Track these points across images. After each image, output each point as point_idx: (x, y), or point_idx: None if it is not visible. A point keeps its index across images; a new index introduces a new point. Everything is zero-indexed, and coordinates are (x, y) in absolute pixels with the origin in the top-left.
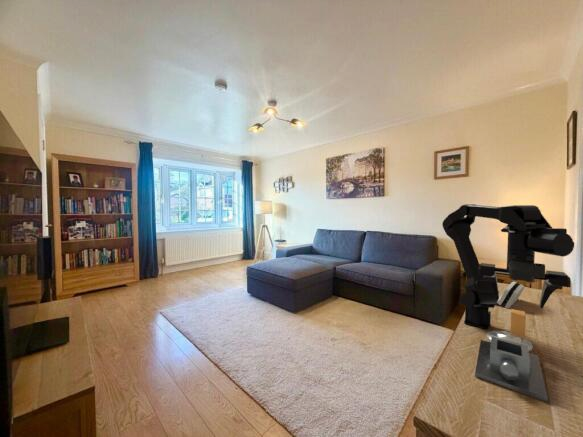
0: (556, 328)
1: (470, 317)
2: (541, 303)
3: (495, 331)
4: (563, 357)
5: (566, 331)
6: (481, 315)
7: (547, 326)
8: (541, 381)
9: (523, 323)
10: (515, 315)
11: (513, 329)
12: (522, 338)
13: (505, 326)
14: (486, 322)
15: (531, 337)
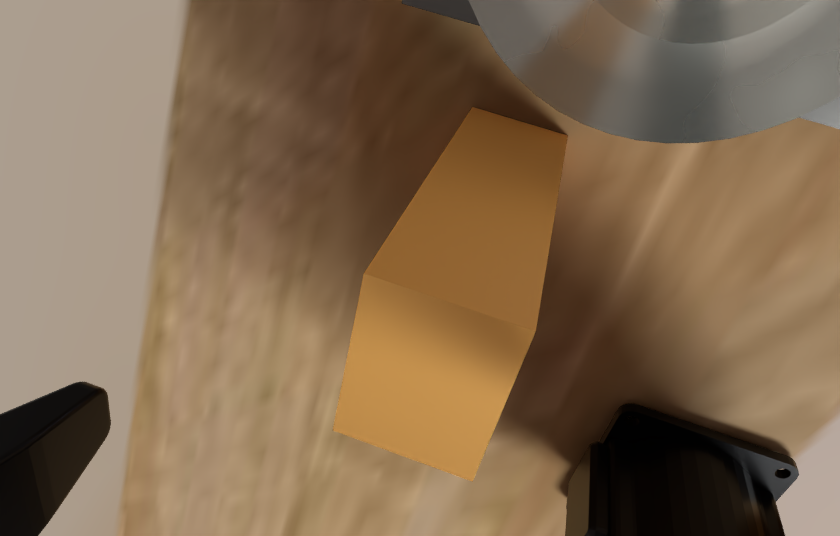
0: (201, 491)
1: (754, 510)
2: (28, 438)
3: (772, 107)
4: (236, 125)
5: (165, 469)
6: (672, 518)
7: (235, 505)
8: None
9: (418, 221)
10: (484, 301)
11: (528, 206)
12: (503, 19)
13: None
14: (620, 464)
15: None
